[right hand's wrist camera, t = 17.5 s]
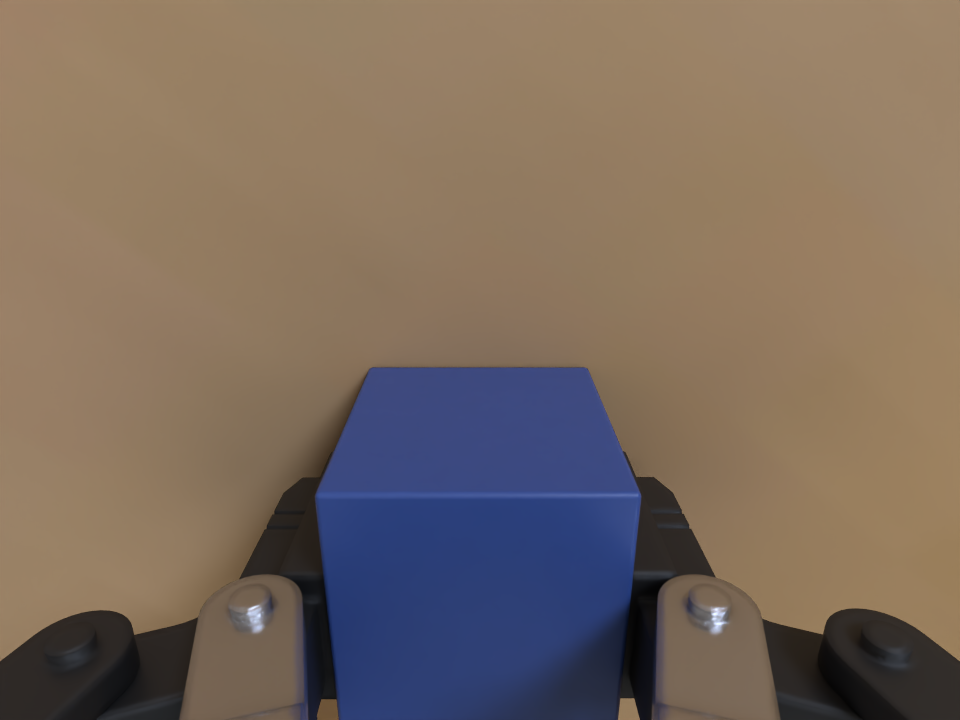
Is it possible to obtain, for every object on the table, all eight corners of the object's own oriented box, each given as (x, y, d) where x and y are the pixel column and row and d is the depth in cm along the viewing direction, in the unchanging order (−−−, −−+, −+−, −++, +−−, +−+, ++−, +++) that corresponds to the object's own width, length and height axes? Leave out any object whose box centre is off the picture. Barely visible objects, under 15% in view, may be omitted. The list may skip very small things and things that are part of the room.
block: (368, 365, 12) (311, 494, 8) (588, 366, 12) (643, 494, 8) (383, 585, 14) (344, 779, 10) (573, 585, 14) (612, 779, 10)
